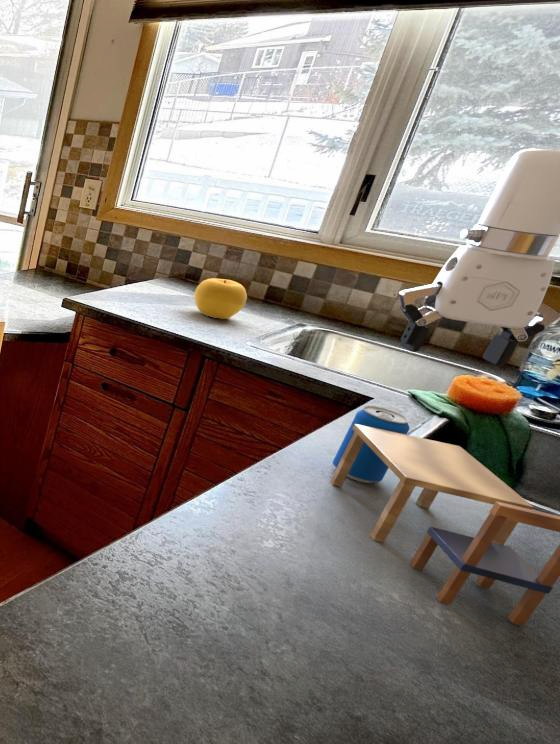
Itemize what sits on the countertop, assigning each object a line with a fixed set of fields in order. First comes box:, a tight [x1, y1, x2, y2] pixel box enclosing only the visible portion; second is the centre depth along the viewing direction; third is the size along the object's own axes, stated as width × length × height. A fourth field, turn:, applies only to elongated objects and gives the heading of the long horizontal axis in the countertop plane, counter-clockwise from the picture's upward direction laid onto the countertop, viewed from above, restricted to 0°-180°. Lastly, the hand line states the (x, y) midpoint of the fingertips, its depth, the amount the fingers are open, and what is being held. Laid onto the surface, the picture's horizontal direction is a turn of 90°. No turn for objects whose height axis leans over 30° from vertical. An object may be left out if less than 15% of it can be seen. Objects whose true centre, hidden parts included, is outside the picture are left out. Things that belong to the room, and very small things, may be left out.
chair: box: [409, 501, 560, 627], centre depth 77 cm, size 8×8×15 cm
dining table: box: [329, 424, 534, 545], centre depth 92 cm, size 13×17×11 cm
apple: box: [194, 277, 248, 320], centre depth 184 cm, size 13×13×11 cm
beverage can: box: [332, 405, 410, 484], centre depth 103 cm, size 6×6×12 cm
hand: (449, 355), depth 90 cm, fingers open, 9 cm apart
